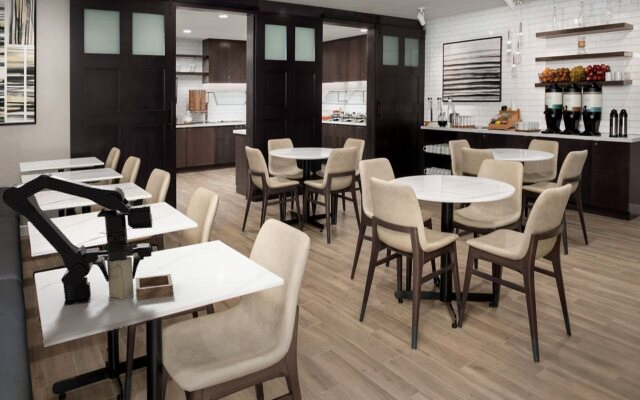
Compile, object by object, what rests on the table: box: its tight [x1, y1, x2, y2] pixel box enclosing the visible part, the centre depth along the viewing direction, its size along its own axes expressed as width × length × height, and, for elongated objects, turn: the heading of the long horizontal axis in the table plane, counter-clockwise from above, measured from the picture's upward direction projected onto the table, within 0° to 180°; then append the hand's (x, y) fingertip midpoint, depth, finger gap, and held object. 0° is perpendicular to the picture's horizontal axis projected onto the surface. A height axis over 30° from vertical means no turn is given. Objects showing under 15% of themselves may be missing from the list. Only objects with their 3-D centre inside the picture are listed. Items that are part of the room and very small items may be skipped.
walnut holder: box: [135, 273, 174, 301], centre depth 163 cm, size 11×11×3 cm
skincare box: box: [106, 256, 134, 300], centre depth 159 cm, size 6×4×12 cm
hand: (120, 280), depth 159 cm, fingers closed on skincare box, 7 cm apart
